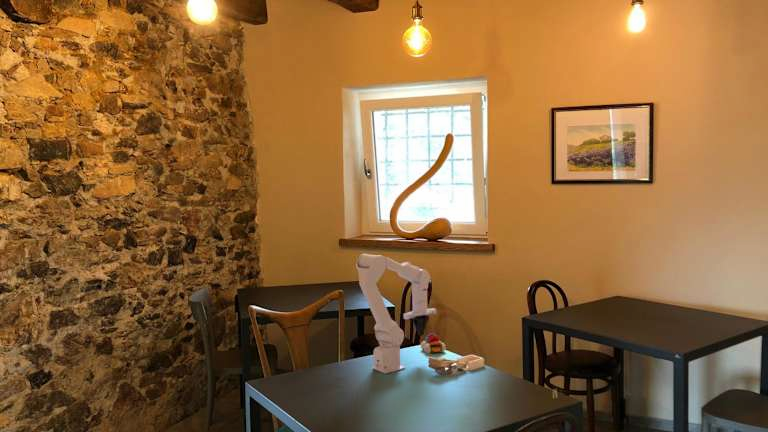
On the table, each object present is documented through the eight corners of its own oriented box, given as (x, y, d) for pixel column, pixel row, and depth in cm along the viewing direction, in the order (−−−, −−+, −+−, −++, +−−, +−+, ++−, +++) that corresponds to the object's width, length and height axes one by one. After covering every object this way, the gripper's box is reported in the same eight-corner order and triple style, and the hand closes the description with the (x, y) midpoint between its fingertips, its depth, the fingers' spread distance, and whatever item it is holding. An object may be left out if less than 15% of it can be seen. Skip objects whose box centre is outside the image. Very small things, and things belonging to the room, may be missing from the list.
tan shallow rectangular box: (465, 371, 222) (465, 363, 222) (453, 367, 227) (453, 359, 227) (484, 366, 227) (484, 358, 227) (472, 362, 233) (472, 354, 232)
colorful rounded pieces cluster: (427, 355, 243) (426, 337, 242) (419, 349, 252) (418, 331, 252) (447, 353, 245) (447, 335, 245) (438, 347, 254) (438, 329, 254)
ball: (473, 365, 226) (473, 357, 226) (467, 363, 229) (467, 355, 229) (479, 365, 228) (480, 356, 228) (473, 363, 231) (474, 354, 231)
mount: (450, 377, 216) (450, 366, 216) (434, 371, 223) (434, 360, 223) (461, 374, 219) (460, 363, 219) (445, 368, 226) (444, 358, 226)
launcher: (436, 370, 215) (438, 360, 215) (414, 362, 225) (416, 352, 225) (465, 372, 223) (467, 363, 223) (443, 364, 233) (444, 355, 233)
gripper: (411, 304, 230) (412, 340, 231) (441, 298, 238) (441, 333, 239) (399, 301, 235) (400, 336, 236) (429, 296, 244) (430, 330, 245)
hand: (420, 334), depth 238 cm, fingers closed
